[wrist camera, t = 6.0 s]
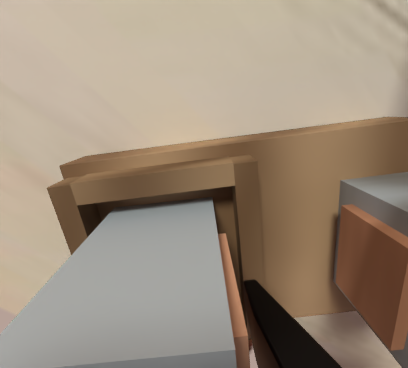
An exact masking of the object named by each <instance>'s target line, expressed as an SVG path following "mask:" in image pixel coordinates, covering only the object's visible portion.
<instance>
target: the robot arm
mask: <svg viewBox="0 0 408 368" xmlns="http://www.w3.org/2000/svg"><path fill="white" fill-rule="evenodd" d="M243 290H244V301H245V308H246V313H247V318H248V323H249V328H250V333H251V338H252V343H253V348H254V353H255V357H256V361H257V365H258V368H342V367H341V366H340V365H339V364H338V363H337V362H336V361H335V360H334V359H333V358H332V357H331V356H330V355H329V354H328V353H327V352H326V351H325V350H324V349H323V348H322V347H321V346H320V345H319V344H318V343H317V342H316V341H315V340H314V339H313V338H312V337H311V336H310V335H309V333H308V332H307V331H306V330H305V329H304V328H303V327H302V326H301V325H300V324H299V323H298V322H297V321H296V320H295V319H294V318H293V317H292V316H291V315H290V314H289V313H288V312H287V311H286V310H285V309H284V308H283V307H282V306H281V305H280V304H279V303H278V302H277V301H276V300H275V299H274V298H273V297H272V296H271V295H270V294H269V293H268V292H267V291H266V290H265V289H264V288H263V287H262V286H261V285H260V283H259V282H258V281H257V280H255V279H252V280H244V281H243Z"/></svg>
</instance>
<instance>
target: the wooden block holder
mask: <svg viewBox="0 0 408 368" xmlns="http://www.w3.org/2000/svg"><path fill="white" fill-rule="evenodd" d="M60 169H61V172H62V175H63V178H64V180H62V181H60V182H58V183H56V184H54V185H52V186H50V187H48V188H47V190H48V193H49V195H50V198H51V201H52V204H53V206H54V209H55V212H56V214H57V217H58V220H59V222H60V225H61V228H62V231H63V233H64V236H65V239H66V241H67V244H68V247H69V250H70V252H71V255H72V254H73V253H74V252H75V251H76V250H77V249H78V247H79V246H80V245H81V244H82V243H83V242H84V241H85V240H86V239H87V237H88V236H89V235H90V234H91V233H92V232H93V231H94V230H95V229H96V228H97V226H98V225H99V224H100V223H101V222H102V221H103V220H104V219H105V218H106V216H107V215H108V214H109V213H110V212H111V211H112V210H113V209H114V208H115V207H124V206H133V205H143V204H152V203H161V202H170V201H179V200H188V199H198V198H207V197H212V199H213V206H214V212H215V219H216V226H217V232H218V234H223V233H226V237H227V242H228V246H229V251H230V255H231V260H232V265H233V269H234V274H235V278H236V283H237V288H238V292H239V297H240V301H241V306H242V311H243V315H244V320H245V324H246V329H247V334H248V340H250V339H252V338H251V333H250V328H249V323H248V318H247V313H246V308H245V301H244V290H243V281H244V280H252V279H255V280H257V281H258V282H259V283H260V285H261V286H262V287H263V288H264V289H265V290H266V291H267V292H268V293H269V294H270V295H271V296H272V297H273V298H274V299H275V300H276V301H277V302H278V303H279V304H280V305H281V306H282V307H283V308H284V309H285V310H286V311H287V312H288V313H289V314H290V315H291V316H292V317H293V318H295V317H304V316H313V315H322V314H331V313H340V312H349V311H357V312H358V313H359V314H360V315H361V317H362V318H363V319H364V320H365V322H366V323H367V324H368V325H369V327H370V328H371V329H372V330H373V332H374V333H375V334H376V335H377V337H378V338H379V339H380V340H381V342H382V343H383V344H384V345H385V347H386V348H387V349H388V350H389V352H390V353H391V354H392V355H393V357H394V358H395V359H396V360H397V362H398V363H399V364H400V365H401V367H402V368H408V117H383V118H376V119H368V120H360V121H353V122H345V123H337V124H329V125H322V126H314V127H306V128H299V129H291V130H283V131H276V132H268V133H260V134H252V135H245V136H237V137H229V138H222V139H214V140H206V141H199V142H191V143H183V144H175V145H168V146H160V147H152V148H145V149H137V150H129V151H122V152H114V153H106V154H98V155H91V156H85V157H82V158H79V159H77V160H74V161H71V162H69V163H66V164H63V165H61V166H60Z"/></svg>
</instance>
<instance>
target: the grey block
mask: <svg viewBox="0 0 408 368" xmlns="http://www.w3.org/2000/svg"><path fill="white" fill-rule="evenodd" d="M0 368H250V359H249V343H248V334H247V329H246V324H245V320H244V315H243V311H242V306H241V301H240V297H239V292H238V288H237V283H236V278H235V274H234V269H233V265H232V260H231V255H230V251H229V246H228V242H227V237H226V233H223V234H218V232H217V226H216V219H215V212H214V206H213V199H212V197H207V198H198V199H188V200H179V201H170V202H161V203H152V204H143V205H133V206H124V207H115V208H114V209H113V210H112V211H111V212H110V213H109V214H108V215H107V216H106V218H105V219H104V220H103V221H102V222H101V223H100V224H99V225H98V226H97V228H96V229H95V230H94V231H93V232H92V233H91V234H90V235H89V236H88V237H87V239H86V240H85V241H84V242H83V243H82V244H81V245H80V246H79V247H78V249H77V250H76V251H75V252H74V253H73V254H72V255H71V256H70V257H69V258H68V260H67V261H66V262H65V263H64V264H63V265H62V266H61V267H60V268H59V270H58V271H57V272H56V273H55V274H54V275H53V276H52V277H51V278H50V280H49V281H48V282H47V283H46V284H45V285H44V286H43V287H42V288H41V289H40V291H39V292H38V293H37V294H36V295H35V296H34V297H33V298H32V299H31V301H30V302H29V303H28V304H27V305H26V306H25V307H24V308H23V309H22V310H21V312H20V313H19V314H18V315H17V316H16V317H15V318H14V319H13V320H12V322H11V323H10V324H9V325H8V326H7V327H6V328H5V329H4V330H3V332H2V333H1V334H0Z"/></svg>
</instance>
